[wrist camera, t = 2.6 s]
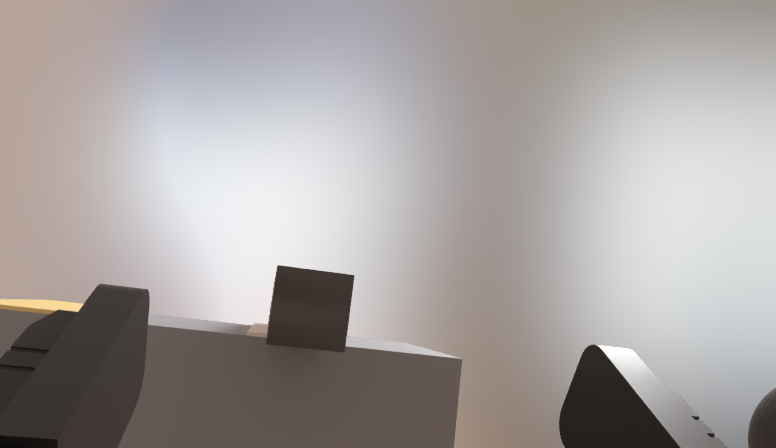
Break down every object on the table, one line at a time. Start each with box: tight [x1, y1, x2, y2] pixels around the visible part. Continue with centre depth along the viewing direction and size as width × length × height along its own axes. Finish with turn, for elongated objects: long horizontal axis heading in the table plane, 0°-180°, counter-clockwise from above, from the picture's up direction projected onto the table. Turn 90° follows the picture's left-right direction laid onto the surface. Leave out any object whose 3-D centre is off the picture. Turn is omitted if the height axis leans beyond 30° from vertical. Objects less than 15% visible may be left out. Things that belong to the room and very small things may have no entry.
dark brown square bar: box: [266, 265, 354, 353], centre depth 33 cm, size 22×3×3 cm, turn 11°
